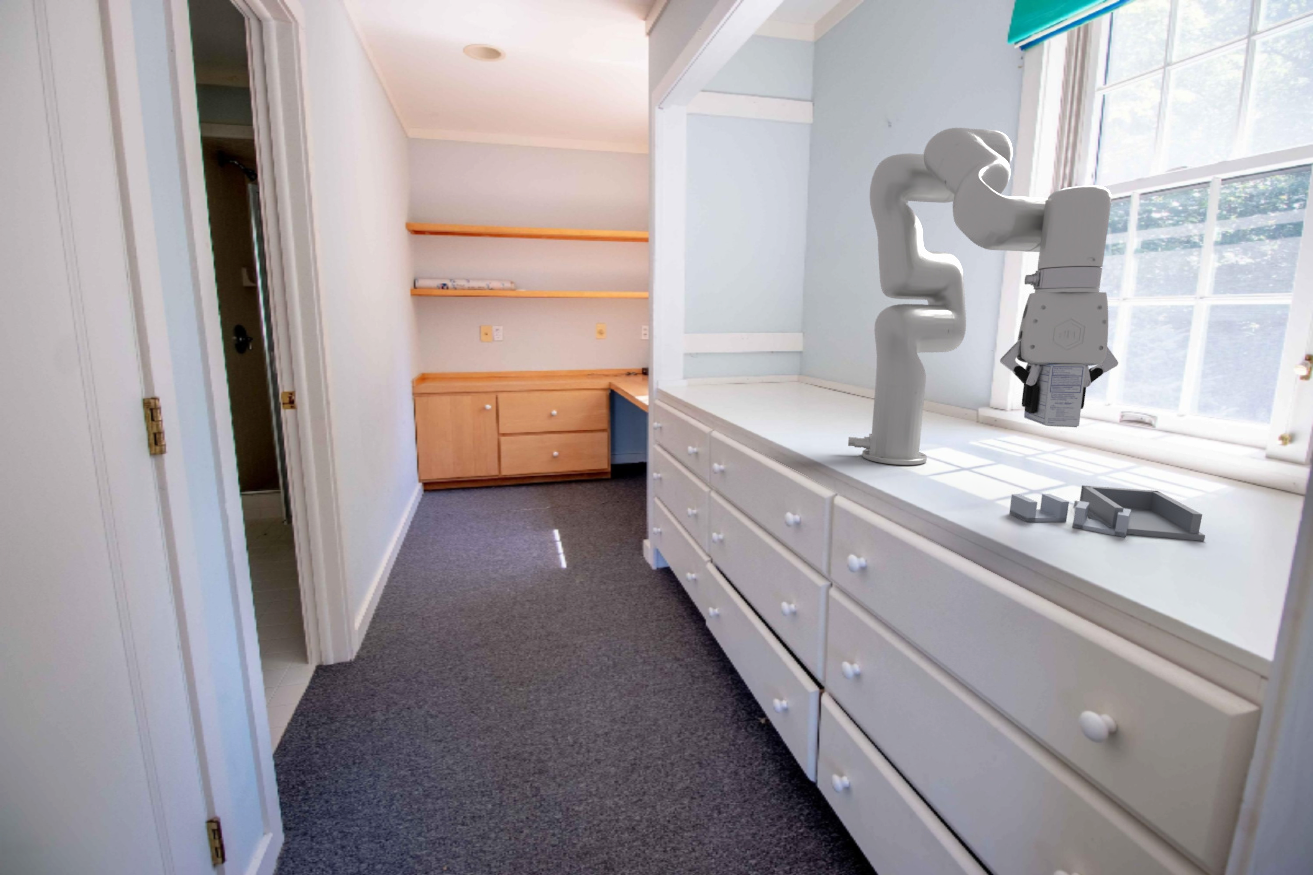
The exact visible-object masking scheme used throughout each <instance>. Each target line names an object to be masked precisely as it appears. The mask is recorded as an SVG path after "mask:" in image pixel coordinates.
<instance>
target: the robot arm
mask: <svg viewBox="0 0 1313 875" xmlns="http://www.w3.org/2000/svg"><path fill="white" fill-rule="evenodd" d="M1012 158H1013V146H1012V142H1011V140H1010V139H1009V137H1008V136H1007V135H1006V134H1005V133H1004V132H1001V131H998V130H993V129H981V128H968V127H951V128H946V129H943V130H941V131H939V132H937V133H936V134H934V135H933V136H931V138H930V139H929V140H928V142H927V143H926V145H925V147H924V150H923V153H897V154H893V155H889V156H888V157H886V158H884V159H882V160H881V162H879V163H878V165H877V166H876V168H875V170H874V172H873V175H872V178H871V181H870V188H869V205H870V210H871V214H872V219H873V222H874V225H875V229H876V234H877V250H878V253H877V254H878V255H877V256H878V268H879V273H878V274H879V283H880V289H881V292H882V293H883V294H884V296H885V297H887V298H891V299H897V300H916V301H917V300H919V301H921V300H923V301H927V304H923V303H922V304H919V303H917V304H916V303H902V304H900V303H899V304H893V305H890V306H887V307H885V308H884V309H883V310H881V311H880V312H879V314H878V315H877V316H876V319H875V321H874V330H873V332H874V340H875V351H876V369H875V373H876V374H875V386H874V387H875V388H874V400H873V410H872V411H873V412H872V413H873V414H872V424H871V425H872V426H871V433H868V434H869V435H868V436H864V437H863V438H861V437H854V436H853V437H852V436H849V437H848V442H847V446H848V447H854V448H863V450H862V452H861V453H862V454H861V456H862V457H863V458H864V459H866V460H868V461H872V462H875V463H880V464H886V465H897V466H900V465H901V466H915V465H922V464H925V463H926V462H927V461H928V457H927V455H926V453H923V452H921V451H920V445H921V438H922V437H921V436H922V424H923V416H924V415H923V414H924V402H925V394H926V381H927V374H926V370H925V366H924V365H923V362H922V360H921V359H920V356H919V354H920V353H947V352H948V353H949V352H952V351H954V350H956V349H957V348H958V347H960V346H961V344H962V343H963V341H964V338H965V335H966V329H967V316H966V315H967V313H966V312H967V310H966V297H965V295H966V294H965V278H964V277H965V276H964V271H963V267H962V264H961V263H960V261H959V259H958V258H957V257H956V256H955V255H953V254H952V253H949V252H945V251H944V252H943V251H928V250H926V248H925V245H924V235H923V234H924V232H923V231H924V230H923V227H922V223H921V221H920V220H919V218H918V216H917V214H916V213H915V211H914V210H913V209H912V208H911V207H910V206H909V204H908V203H909V202H918V203H919V202H923V203H944V204H945V203H946V204H947V203H952V216H953V217H952V218H953V222H954V224H955V226H956V228H958V229H959V231H961V233H962V234H964V235H965V237H967V238H968V240H969V241H971V242H972V243H973V244H974V245H976V246H978V247H979V248H981V249H982V248H983V249H985V250H988V251H1006V252H1007V251H1010V252H1028V253H1030V252H1032V253H1038V261H1037V270H1035V272H1034V273H1032V274H1026V275H1025V277H1024V285H1030V286H1032V287H1033V290H1034V292H1031V293H1029V295H1028V296H1027V297H1028V298H1027V301H1026V304H1025V307H1024V311H1023V314H1022V317H1021V322H1020V326H1019V330H1018V336H1017V341H1016V342H1015V343H1014V344H1013V345H1012V346H1011V347H1010V349H1008V350H1007V352H1006V353H1005V354H1004V355H1003V356H1002V357H1001V358H1000V359H999V362H1000V364H1002V365H1003V366H1004V367H1005V368H1007V369H1008V370H1009V371H1011V372H1012V373H1013V374H1014V375H1015V376H1016V377H1017V378H1018V379H1019V381H1021V383H1022V384H1023V389H1022V398H1021V407H1023V408H1024V412H1025V411H1026V412H1028V413H1032V414H1035V413H1036V412H1037V405H1038V396H1039V386H1037V378H1038V376H1039V374H1040V371H1041V369H1042V366H1043V365H1049V364H1083V365H1085V366H1086V367H1085V377H1084V386H1083V395H1082V404H1081V410H1082V409H1084V407H1085V406H1084V405H1085V400H1086V393H1087V388H1088V387H1090V386H1091V384H1092V383H1093V382H1095V381H1096V380H1097V379H1098V378H1100V377H1102V376H1103V375H1104V374H1105V373H1107V372H1109V371H1111V370H1112V369H1114V368H1115V367H1117V366H1118V365H1119V361H1118V359H1117V358H1116V357H1115V355H1114V354H1113V353H1112V351H1111V350H1110V349H1109V347H1108V340H1109V304H1108V303H1109V302H1108V295H1107V292H1106V291H1105V292H1103V291H1102V292H1100V289H1101V288H1100V287H1101V282H1102V280H1101V279H1102V274H1103V266H1104V265H1103V264H1104V259H1105V257H1104V256H1105V250H1106V244H1107V242H1106V241H1107V236H1108V235H1107V234H1108V228H1109V221H1110V212H1111V206H1112V194H1111V191H1110V190H1109V189H1107V188H1106V187H1104V186H1101V185H1100V186H1099V185H1081V186H1071V187H1066V188H1062V189H1059V190H1056V191H1054V192H1052V193H1051V194H1049V195H1048V197H1047V198H1044V197H1034V196H1033V197H1031V196H1030V197H1029V196H1012V195H1010V196H1008V195H1002V193H1003V192H1004V191H1005V189H1006V188H1007V186H1008V184H1009V181H1010V178H1011V168H1010V164H1011V163H1012V160H1013V159H1012ZM1016 359H1017V360H1018V361H1019V362H1021V363H1026V366H1025V367H1023V366H1022V365H1020V364H1019V363H1018V362H1017V361H1016ZM1091 366H1092V367H1091ZM1089 367H1091V368H1089Z"/></svg>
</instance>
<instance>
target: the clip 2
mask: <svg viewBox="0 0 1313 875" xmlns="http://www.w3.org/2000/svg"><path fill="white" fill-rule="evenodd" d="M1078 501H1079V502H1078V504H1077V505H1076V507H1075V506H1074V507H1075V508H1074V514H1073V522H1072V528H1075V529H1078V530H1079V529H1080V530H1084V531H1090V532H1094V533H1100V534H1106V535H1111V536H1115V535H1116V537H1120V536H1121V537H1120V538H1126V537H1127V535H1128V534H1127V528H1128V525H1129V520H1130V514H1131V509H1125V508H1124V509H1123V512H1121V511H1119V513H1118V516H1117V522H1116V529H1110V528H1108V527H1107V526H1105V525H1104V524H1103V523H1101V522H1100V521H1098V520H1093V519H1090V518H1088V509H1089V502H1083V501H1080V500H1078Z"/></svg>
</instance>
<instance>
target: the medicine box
mask: <svg viewBox="0 0 1313 875" xmlns="http://www.w3.org/2000/svg"><path fill="white" fill-rule="evenodd" d="M1085 367H1086V366H1085V365H1083V364H1049V365H1043V366H1042V369H1041V371H1040V374H1039V376H1038V378H1037V386H1039V396H1038V405H1037V412H1036V413H1035V414H1032V413H1028V412H1026V411H1025V410H1024V414H1023V416H1024V419H1027V420H1028V421H1032V422H1035V423H1038V424H1041V425H1043V426H1047V427H1056V428H1057V427H1059V428H1062V427H1064V428H1077V427H1079V426H1080V420H1081V412H1082V409H1081V404H1082V395H1083V386H1084V377H1085Z"/></svg>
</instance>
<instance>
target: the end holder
mask: <svg viewBox="0 0 1313 875" xmlns="http://www.w3.org/2000/svg"><path fill="white" fill-rule="evenodd" d="M1079 501H1083V502H1089V509H1088V516H1087V518H1088V519H1093V520H1098V521H1100V522H1101V523H1103V524H1104V525H1105V526H1107V527H1108V528H1110V529H1116V522H1117V516H1118V513H1119V511H1121V512H1123V509H1124V508H1125V509H1131V514H1130V520H1129V525H1128V528H1127V534H1126V535H1130V534H1135V535H1134V536H1142V535H1143V536H1144V537H1155V538H1156V537H1157V538H1167V539H1176V540H1177V539H1178V540H1187V541H1189V540H1190V541H1200V542H1205V539H1206V535H1205V534H1203V533H1202V532H1200V528H1201V523H1202V517H1203V514H1202V513H1201V512H1198V511H1197V510H1195V509H1192V508H1191V507H1189V506H1188V505H1185V504H1183V503H1182V502H1179V501H1177V500H1176V499H1174V498H1172V497H1170V496H1169V495H1166V494H1164V493H1162V492H1160V491H1159V490H1154V489H1153V490H1152V489H1151V490H1150V489H1137V488H1136V489H1135V488H1122V487H1110V486H1108V487H1107V486H1095V485H1084V484H1083V485H1081V491H1080V496H1079V500H1074V503H1073V507H1076V505H1077V504H1078V502H1079ZM1143 536H1142V537H1143Z"/></svg>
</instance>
